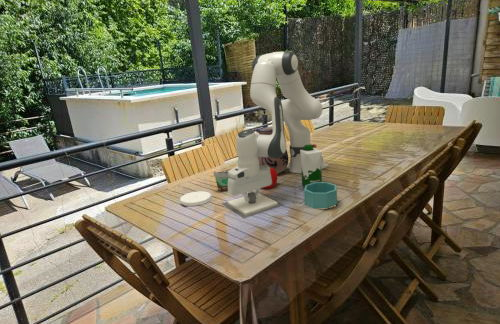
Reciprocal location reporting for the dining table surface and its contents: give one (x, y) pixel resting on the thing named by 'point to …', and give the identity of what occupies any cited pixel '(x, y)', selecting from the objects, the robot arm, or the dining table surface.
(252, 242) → the dining table surface
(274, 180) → the tomato
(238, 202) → the cover board
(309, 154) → the milk carton
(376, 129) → the dining table surface
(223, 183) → the food container
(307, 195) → the teal octagonal bowl
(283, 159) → the ceramic pitcher
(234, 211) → the rubber mat
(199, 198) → the plastic lid
